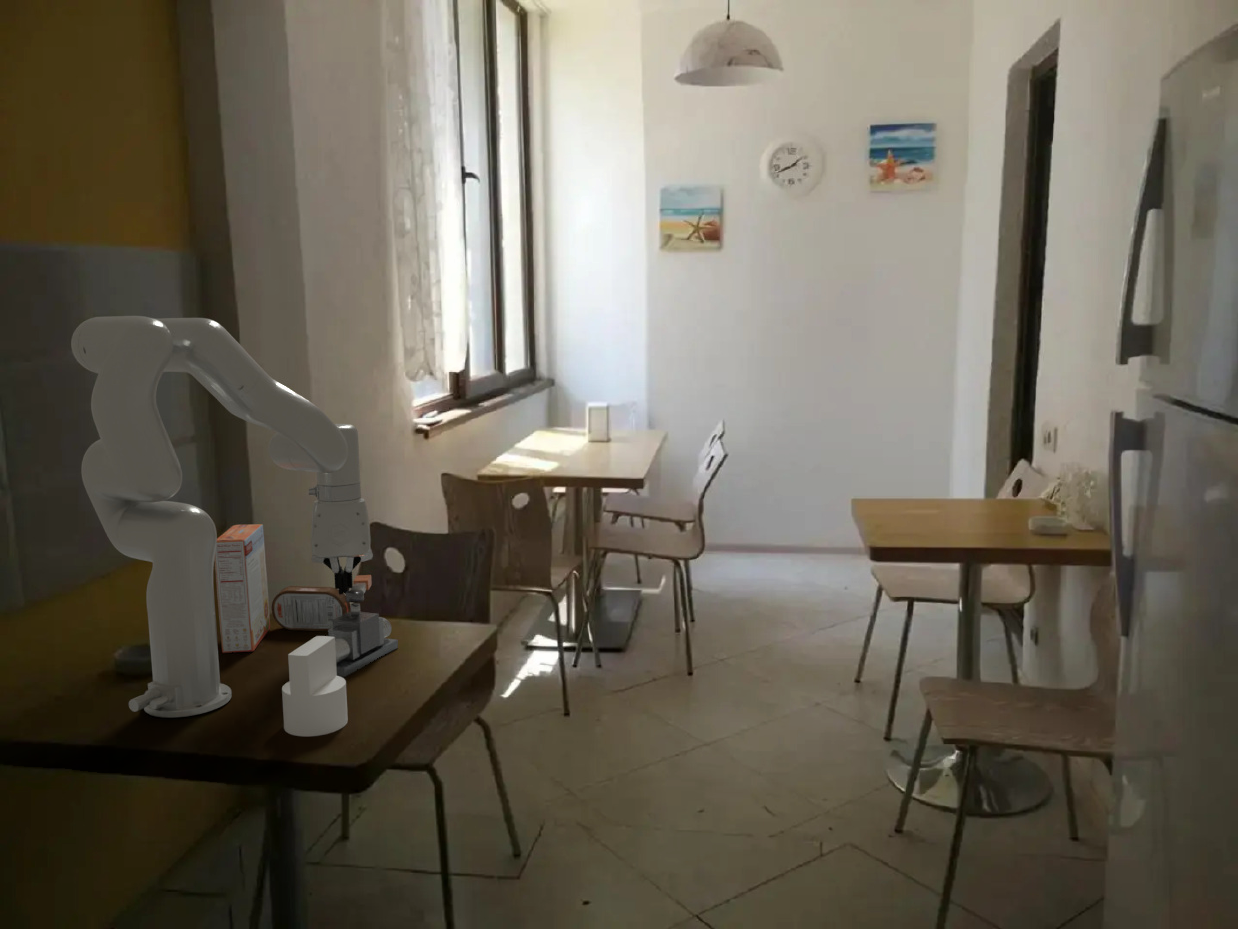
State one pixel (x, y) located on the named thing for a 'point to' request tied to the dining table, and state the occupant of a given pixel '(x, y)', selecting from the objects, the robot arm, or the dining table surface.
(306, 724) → the base with upright slab
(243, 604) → the cracker box
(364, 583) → the lever
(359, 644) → the valve body
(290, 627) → the tin
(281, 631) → the dining table surface
